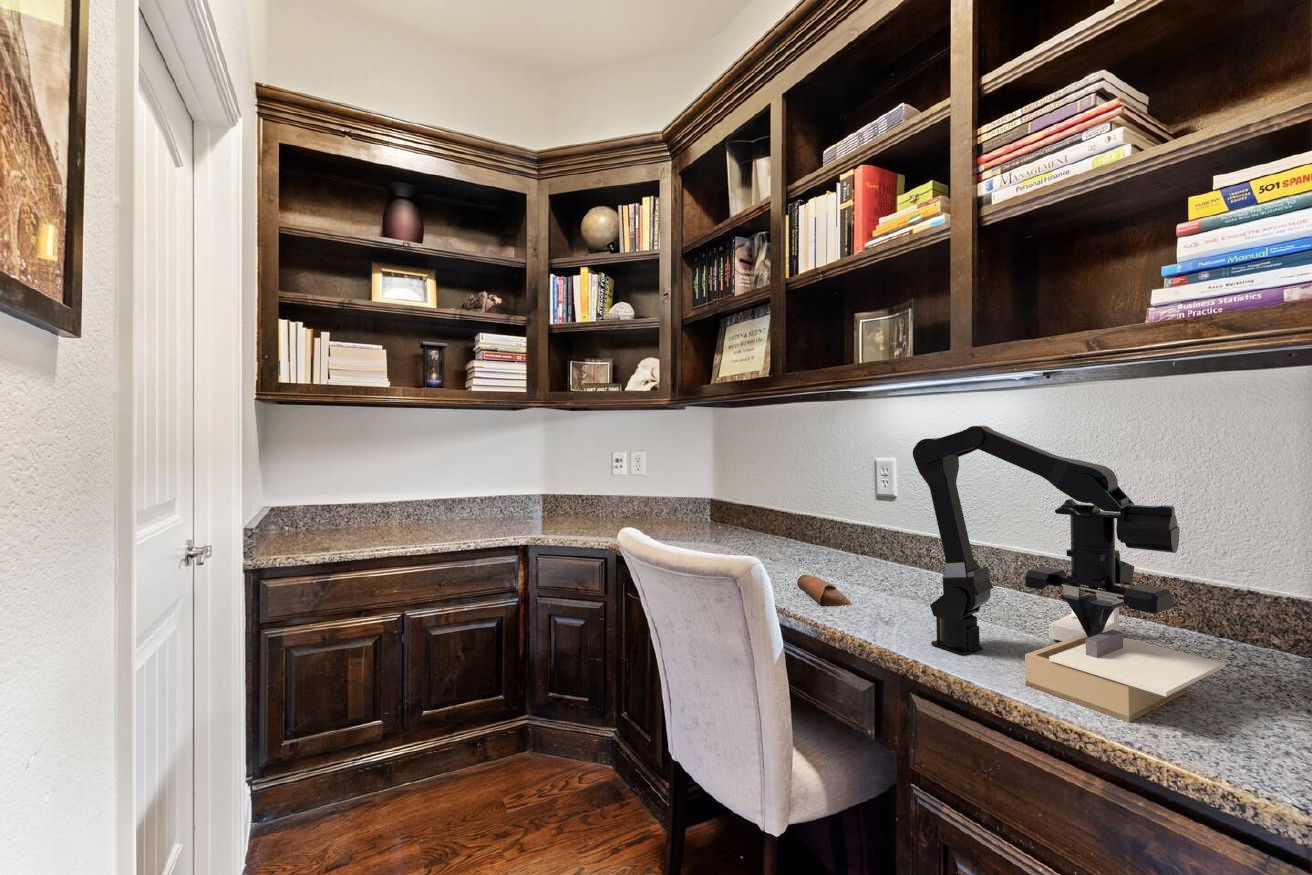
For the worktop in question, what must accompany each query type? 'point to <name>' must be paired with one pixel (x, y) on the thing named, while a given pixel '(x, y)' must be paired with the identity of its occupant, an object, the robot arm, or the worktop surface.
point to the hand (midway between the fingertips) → (1094, 641)
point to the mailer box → (1089, 685)
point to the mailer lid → (1137, 663)
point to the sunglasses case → (822, 591)
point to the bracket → (1078, 626)
